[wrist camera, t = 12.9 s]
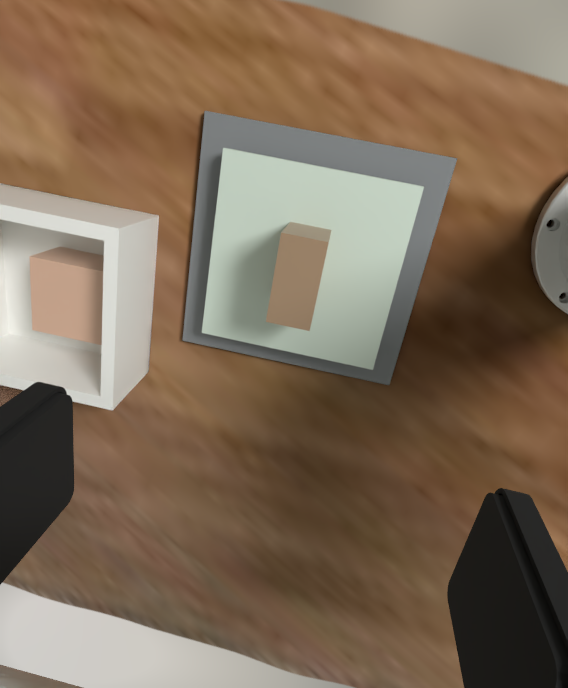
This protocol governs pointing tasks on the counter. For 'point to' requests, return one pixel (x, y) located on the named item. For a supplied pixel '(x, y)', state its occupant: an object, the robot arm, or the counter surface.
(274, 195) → the lid
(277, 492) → the counter surface
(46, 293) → the storage box
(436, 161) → the mat
